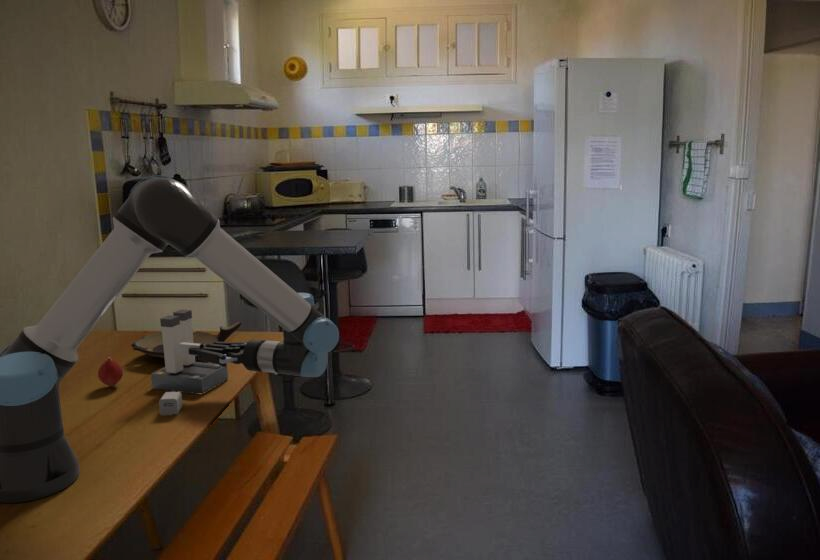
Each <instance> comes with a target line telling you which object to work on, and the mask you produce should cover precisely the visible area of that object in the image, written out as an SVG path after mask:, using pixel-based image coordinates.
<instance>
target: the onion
mask: <svg viewBox="0 0 820 560" xmlns="http://www.w3.org/2000/svg"><path fill="white" fill-rule="evenodd" d="M123 370H124V369H123V367H122V365H120V363H119V362H118V361H115V360H113V359H112V357H111V356H109V357H107V359H106V360H105V361H104V362H103V363H102V364H101V365H100V367H99V369H98V371H97V372H98V373H97V377H98V380H99V381H100V382H101V383H102V384H104V385H106V386H108V387H110V388H114V387H115V386H116V385H117V384H118V383H119V382H120V381H121V380H122V378H123V375H124V371H123Z"/></svg>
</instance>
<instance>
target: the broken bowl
mask: <svg viewBox="0 0 820 560" xmlns="http://www.w3.org/2000/svg"><path fill="white" fill-rule="evenodd" d="M241 326H242V322H241V321H238V322H236V323H234V324H233V325H230V326H222V325H221V326H219V332H218V334H212V333H209V332H206V331H201V330H197V331H195V332H193V341H194V343H197V344H205V345H206V344H209V343H210V344H213V342H226V340H227V339H228V338H229V337H230V336H232V335H233V334H234V333H235V332H236V331H237V330H238V329H239V328H240V327H241ZM130 346H131V347H132V350H133V351H137V352H141V353H143V354H146V355H148V356H152V357H155V358H161V359H165V357H164V347H163V337H162V332H157V333H151V334H148V335H145V336H143V337H141V338H139V339H137V340H135V342H133V343H130Z"/></svg>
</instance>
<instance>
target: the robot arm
mask: <svg viewBox="0 0 820 560" xmlns="http://www.w3.org/2000/svg"><path fill="white" fill-rule="evenodd" d="M112 222H113V223H112V224H113V229H112V230H111V232H109V235H108V236H107V237H106V238H105V240H104V241H103V242H102V243H101V244H100V246H99V247H98V248H97V249H96V251H95V252H94V253H93V254H92V256H91V257H90V258H89V259H88V261H87V262H86V263H85V265H83V267H82V268H81V270H80V271H79V272H78V273H77V275H76V276H75V277H73V279H72V281H71V282H70V283H69V285H68V286H67V287H66V288H65V290H63V292H62V293H61V295H60V296H59V297H58V299H57V300H56V301H55V302H54V304H53V305H52V306H51V307H50V309H49V310H48V311H47V313H46V314H45V315H44V316H43V317H42V319H41V320H40V321H39V322H38V323H37V324H35V325H31V326H25V327H24V328H23V329H22V330H21V331H20V333H19V334H18V335H17V337H16V338H15V339H14V340H13V342H12V343H11V344H10V345H7V346H6V347H5V348H3V350H2V351H1V352H0V503H5V504H7V503H8V504H11V503H12V504H15V503H25V502H30V501H31V502H32V501H34V500H35V501H36V500H39V499H43V498H45V497H48V496H51V495H54V494H56V493H58V492H60V491H62V490H64V489H66V488H68V487H70V486H71V485H72V484H73V483H75V482H76V481H77V479H78V478H79V476H80V474H81V470H80V464H79V463H80V462H79V459H78V458H77V455H76V453H75V452H74V450H73V448H72V447H71V444H70V443H69V441H68V439H67V437H66V435H65V430H64V422H63V413H62V408H61V398H60V385H61V383H62V382H63V380H64V378H65V377H66V376H67V375H68V373H69V372H70V371H71V370H72V368H73V367H74V365H75V364H76V363H77V362H78V360H79V355H78V348H79V347H80V345H81V344H82V342H83V341H84V340H85V339H86V337H88V335H89V333H91V331H92V330H93V328H94V327H95V326H96V324H97V323H98V322H99V321H100V320H101V319H102V317H103V316H104V314H106V312H107V311H108V309H109V308H110V306H112V304H113V303H114V302H115V300H117V298H118V296H119V295H120V294H121V293H122V291H123V290H124V289H125V288H126V286H128V284H129V283H130V281H131V280H132V279H133V277H134V276H135V275H136V274H137V272H138V271H139V270H140V268H141V267H142V266H143V264H144V263H145V262H146V261H147V260H148V259H149V257H150V256H151V255H152V254H157V253H163V251H164V250H165V249H166V248H167V247H168V246H170V247H172V248H173V249H176V251H178V252H179V253H180V254H181V255H183V256H184V257H185V258H190V257H192V258H193V257H194V258H195V259H196V260H197V261H199V262H200V263H201V264H203V265H204V266H205V267H206V268H208V270H210V271H211V272H212V273H214V274H215V275H216V276H218V278H220V279H221V280H222V281H224V282H225V283H226V284H228V286H230V287H231V288H233V290H235V291H236V292H238V293H239V294H240V295H241V296H242V297H244V299H246V300H248V301H249V302H250V303H251V304H252V305H253V306H255V307H256V308H257V309H259V310H260V311H261V312H263V313H264V314H265V315H266V316H268V318H270V320H272V321H274V322H275V323H276V324H277V325H278V326H280V327H282V336H283V337H282V338H283V339H282V341H278V340H265V339H264V340H263V339H250V340H249V341H224V342H213V344H210V343H209V344H206V345H205V344H197V343H186V342H182V343H180V344H179V348H180V354H183V355H193V356H195V357H197V359H198V361H200V362H204V363H211V364H218V365H220V366H222V367H225V366H227V367H228V365H227V364H228V363H233V364H235V365H240V364H242V365H243V367H244V368H245V369H246V370H247V371H251V372H258V373H259V372H263V373H269V374H273V375H275V376H276V375H278V374H280V375H281V374H283V375H290V376H297V377H298V376H299V377H301V378H304V377H306V378H318V377H320V376H321V375H323V374H324V372H325V371H326V369H327V366H328V360H329V359H328V358H329V357H328V356H329V355H328V353H329V352H331V351H332V350H334V348H336V346H337V344H338V342H339V340H340V332H339V329H338V326H337V325H336V324H335V323H334V322H333V320H331V319H330V318H328V317H327V316H325V315H324V314H322V313H321V312H320V311H319V310H318V309H317V308H316V304H315V299H314V296H313V294H311V293H308V292H297V291H295V290H294V288H293V287H291V286H289V284H288V283H286V282H285V281H284V280H282V278H280V277H279V276H278V275H277V274H276V273H274V272H273V271H272V270H271V269H270V268H268V266H266V265H265V264H264V263H262V262H261V261H260V260H259V259H258V258H257V257H255V255H253V254H252V252H250V251H248V250H247V249H246V248H245V247H244V246H243V245H242V244H240V243H239V242H238V241H237V240H235V239H234V238H233V237H232V236H231V235H229V234H228V233H227V231H225V230H224V229H223V228H221V225H220V224H221V223H220V219H219V218H218V217H216V216H215V215H214V214H213V213H212V212H211V211H210V210H209V209H208V208H207V207H206V206H205V205H204V204H203V203H202V202H201V201H200V200H199V198H197V196H196V195H195V194H194V193H193V191H192V190H191V189H189V187H188V186H186V184H184V183H182V182H180V181H178V180H175V179H173V177H169V176H165V175H152V176H148V177H145V178H142V179H141V180H139V181H138V182H136V184H134V186H133V187H132V188H131V190H130V192H129V194H128V198H127V199H126V200H125V202H124V203H122V205H121V206H120V208H119V209H118V210H117V211H116V212H115V214H114V215H113V217H112Z"/></svg>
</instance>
